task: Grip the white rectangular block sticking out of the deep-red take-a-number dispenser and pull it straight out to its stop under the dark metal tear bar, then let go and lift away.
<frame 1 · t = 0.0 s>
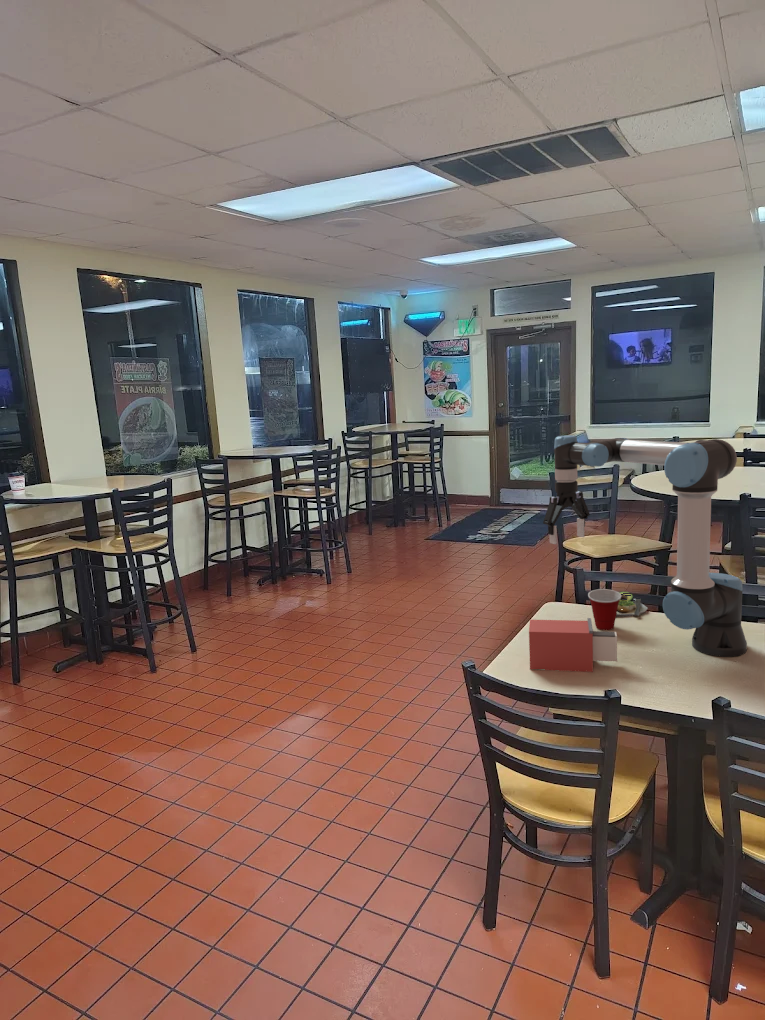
hand: (567, 540, 237), 28 cm above the table, fingers open, 13 cm apart
plastic cup: (604, 628, 229), on the table
salad plate: (620, 609, 246), on the table
dispenser: (560, 663, 204), on the table
white rectangular block: (584, 645, 201), point 6 cm above the table, slide at 0.0 cm
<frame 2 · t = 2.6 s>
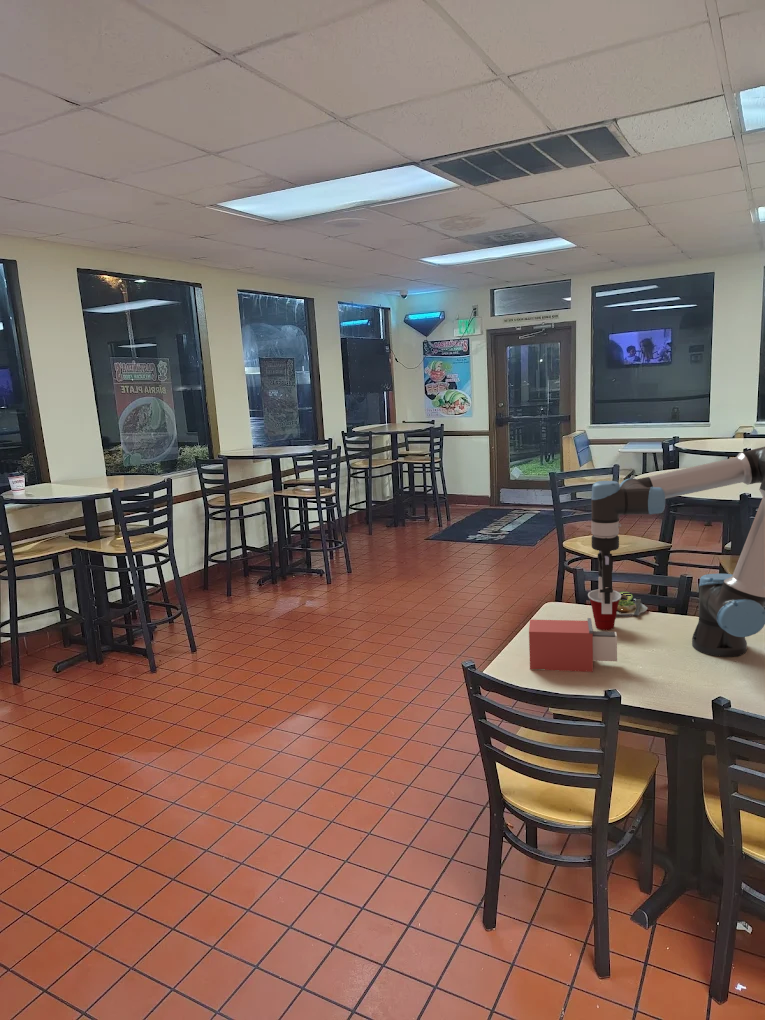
hand: (604, 605, 197), 19 cm above the table, fingers open, 13 cm apart
nothing on the table moved.
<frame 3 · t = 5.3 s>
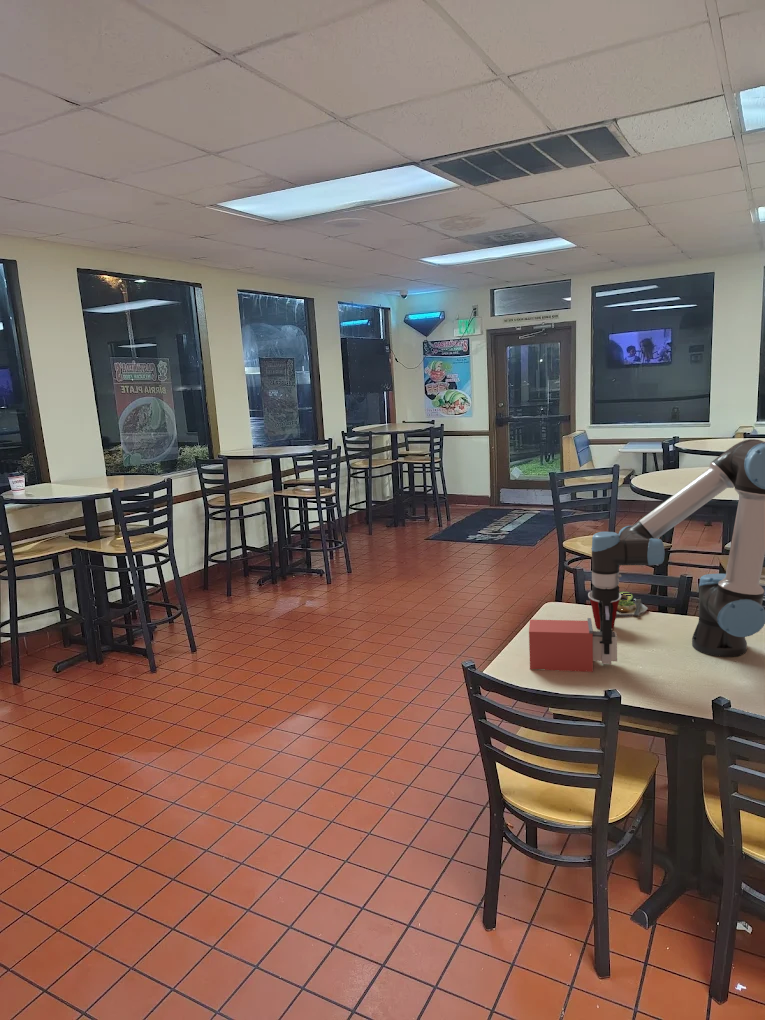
hand: (605, 660, 200), 2 cm above the table, fingers closed on white rectangular block, 3 cm apart
white rectangular block: (584, 645, 201), point 6 cm above the table, slide at 0.0 cm, touching gripper
everything else where it was.
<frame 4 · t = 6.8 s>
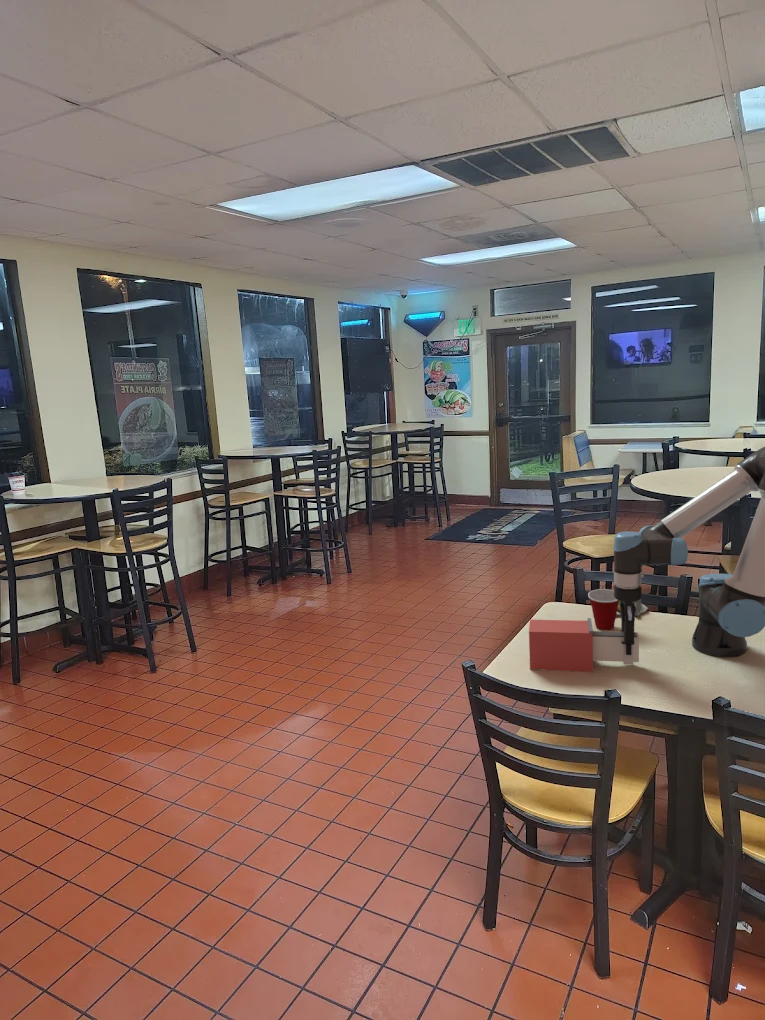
hand: (627, 661, 199), 2 cm above the table, fingers closed on white rectangular block, 3 cm apart
white rectangular block: (606, 646, 199), point 6 cm above the table, slide at 6.1 cm, touching gripper
everything else where it was.
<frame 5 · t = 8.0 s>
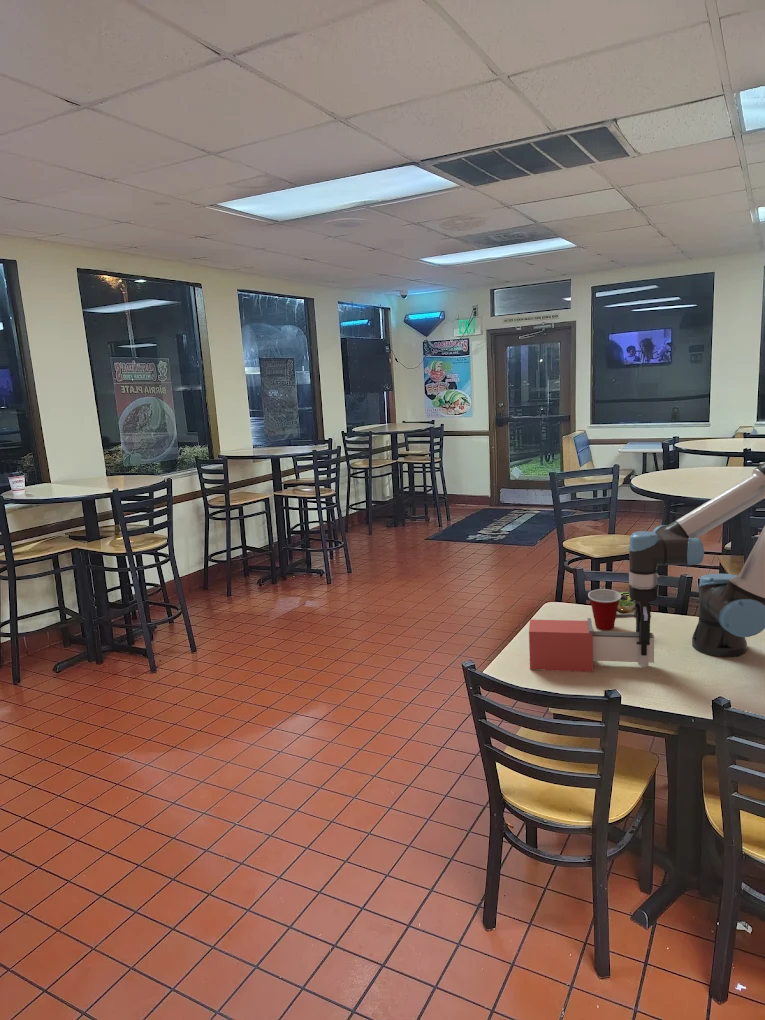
hand: (642, 661, 198), 2 cm above the table, fingers closed on white rectangular block, 3 cm apart
white rectangular block: (620, 646, 198), point 6 cm above the table, slide at 10.2 cm, touching gripper
everything else where it was.
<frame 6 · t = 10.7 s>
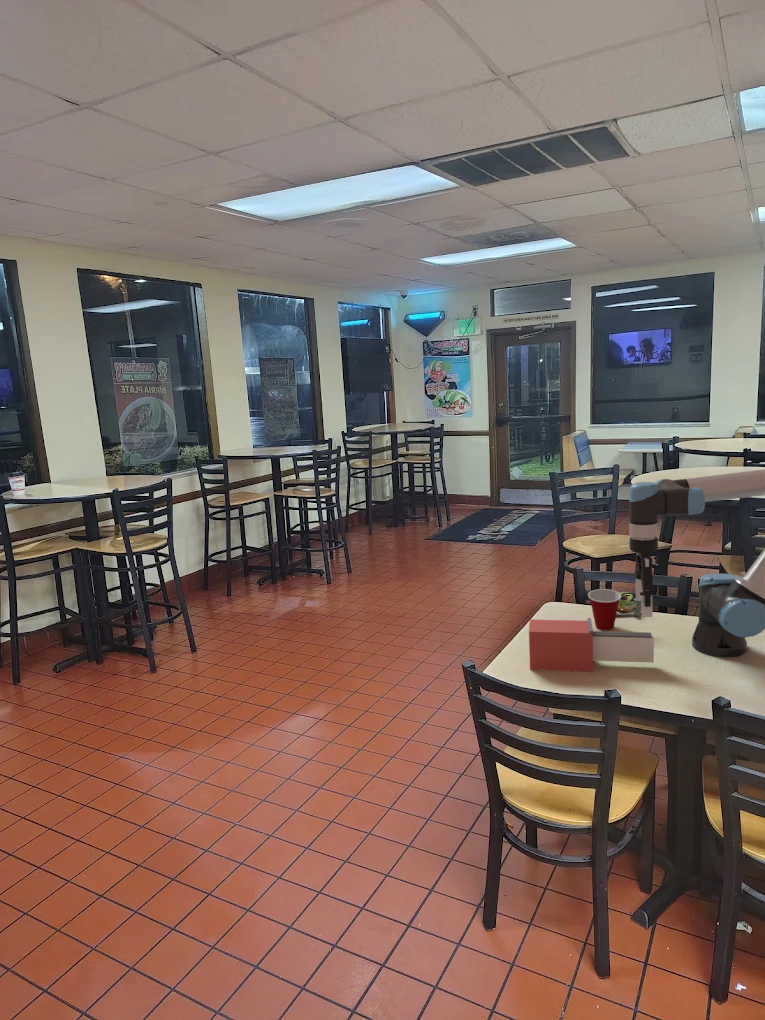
hand: (643, 608, 195), 18 cm above the table, fingers open, 13 cm apart
white rectangular block: (620, 646, 198), point 6 cm above the table, slide at 10.1 cm
everything else where it was.
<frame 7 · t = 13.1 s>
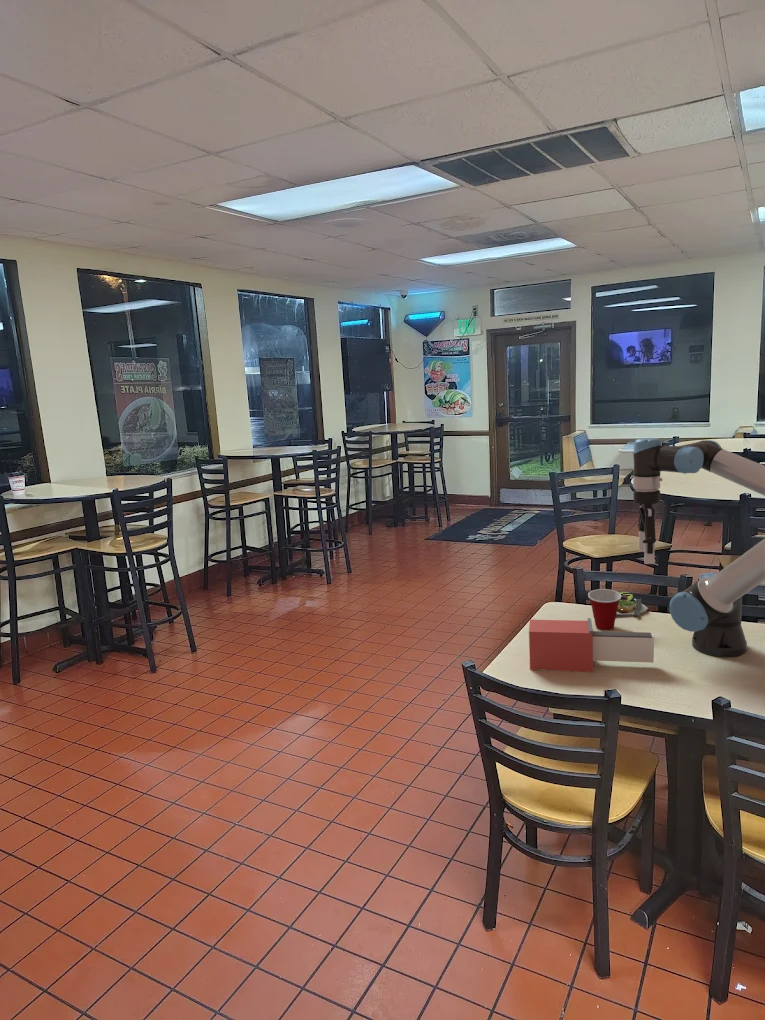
hand: (646, 557, 207), 29 cm above the table, fingers open, 13 cm apart
nothing on the table moved.
at the end: white rectangular block slide at 10.1 cm; the gripper is holding nothing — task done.
